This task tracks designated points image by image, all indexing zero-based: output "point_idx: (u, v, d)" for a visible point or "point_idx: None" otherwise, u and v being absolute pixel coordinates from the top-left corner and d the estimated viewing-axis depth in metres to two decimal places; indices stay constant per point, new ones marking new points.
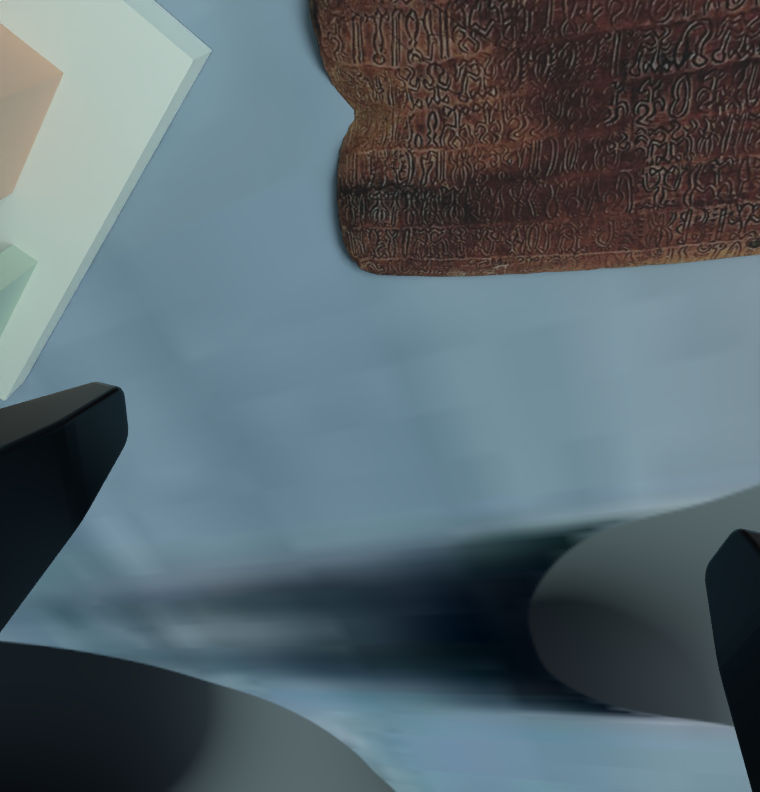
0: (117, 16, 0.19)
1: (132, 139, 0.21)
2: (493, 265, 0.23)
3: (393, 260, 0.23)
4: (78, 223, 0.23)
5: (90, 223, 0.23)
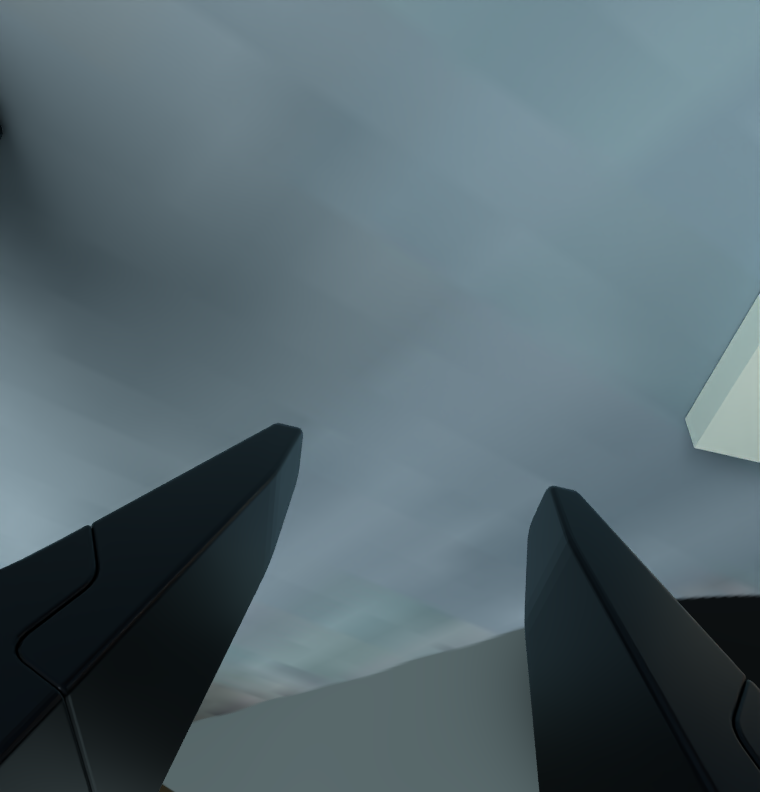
0: None
1: None
2: None
3: None
4: None
5: None
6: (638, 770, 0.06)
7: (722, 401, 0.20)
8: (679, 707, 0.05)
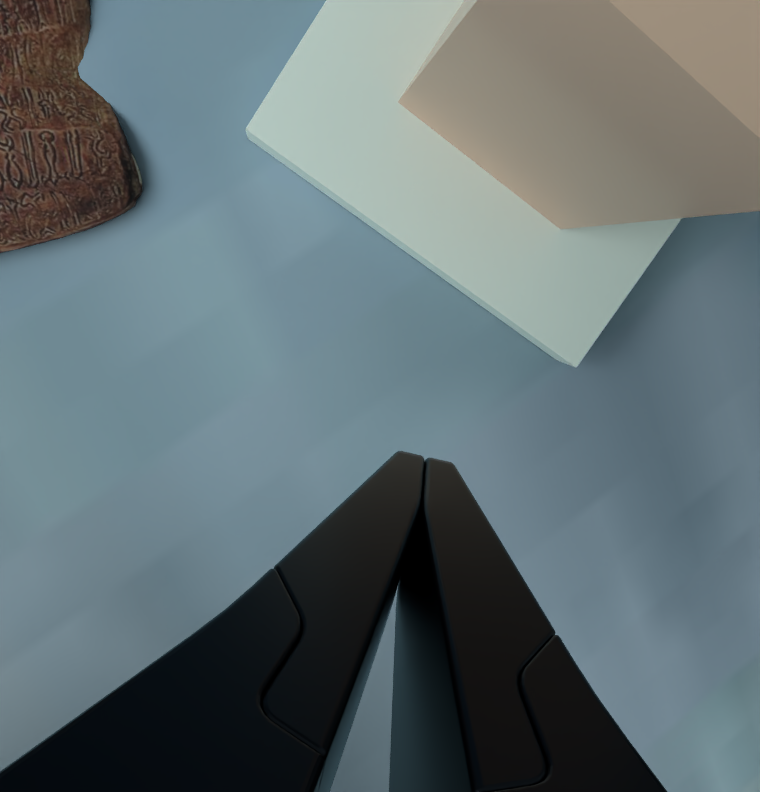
0: (326, 165, 0.18)
1: (328, 30, 0.18)
2: None
3: None
4: None
5: None
6: (434, 721, 0.06)
7: (528, 333, 0.20)
8: (468, 657, 0.05)
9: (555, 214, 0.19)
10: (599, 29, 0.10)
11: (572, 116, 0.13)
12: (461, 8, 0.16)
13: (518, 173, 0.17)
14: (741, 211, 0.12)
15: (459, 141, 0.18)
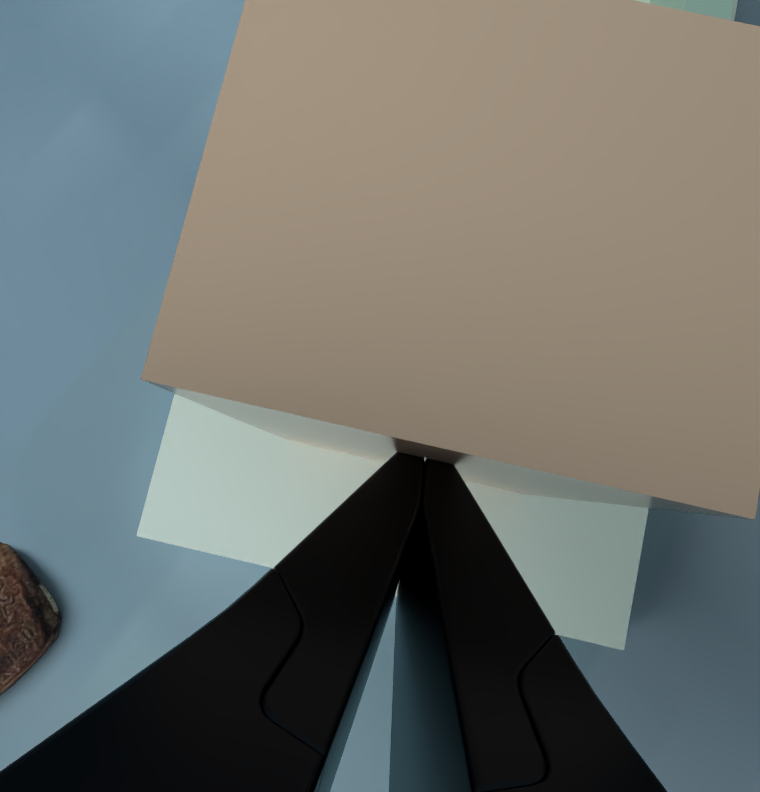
0: (233, 537, 0.16)
1: (189, 404, 0.16)
2: None
3: None
4: None
5: None
6: (435, 721, 0.06)
7: None
8: (468, 657, 0.05)
9: (503, 488, 0.15)
10: (311, 422, 0.07)
11: None
12: None
13: None
14: None
15: (362, 456, 0.16)
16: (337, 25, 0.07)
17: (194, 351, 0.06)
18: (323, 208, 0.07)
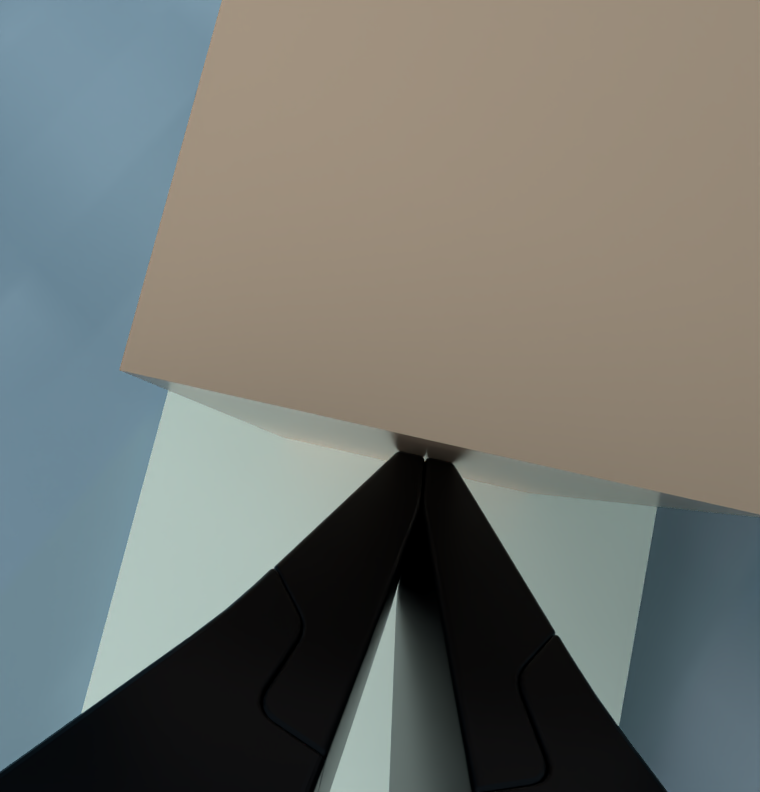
0: None
1: (121, 635, 0.15)
2: None
3: None
4: (177, 467, 0.16)
5: (159, 476, 0.16)
6: (435, 721, 0.06)
7: None
8: (468, 657, 0.05)
9: (507, 487, 0.15)
10: (304, 417, 0.07)
11: None
12: None
13: None
14: (677, 508, 0.08)
15: (360, 454, 0.15)
16: None
17: (177, 339, 0.06)
18: (318, 185, 0.06)
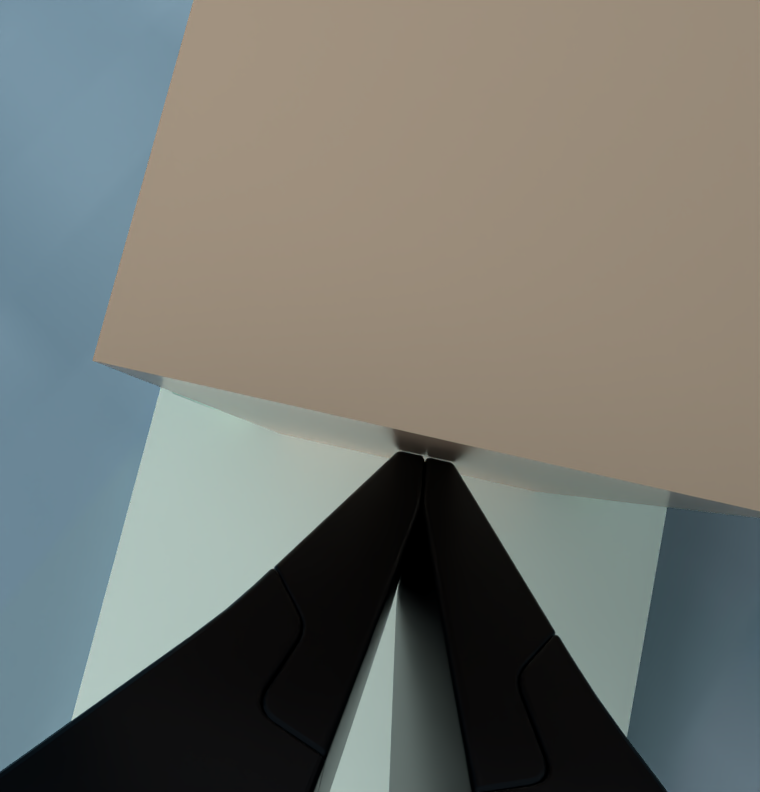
0: None
1: (99, 689, 0.15)
2: None
3: None
4: (158, 512, 0.15)
5: (139, 522, 0.15)
6: (435, 721, 0.06)
7: None
8: (468, 657, 0.05)
9: (511, 485, 0.14)
10: (296, 411, 0.06)
11: (406, 450, 0.09)
12: None
13: None
14: (700, 510, 0.07)
15: (360, 451, 0.15)
16: None
17: (156, 327, 0.05)
18: (311, 158, 0.06)
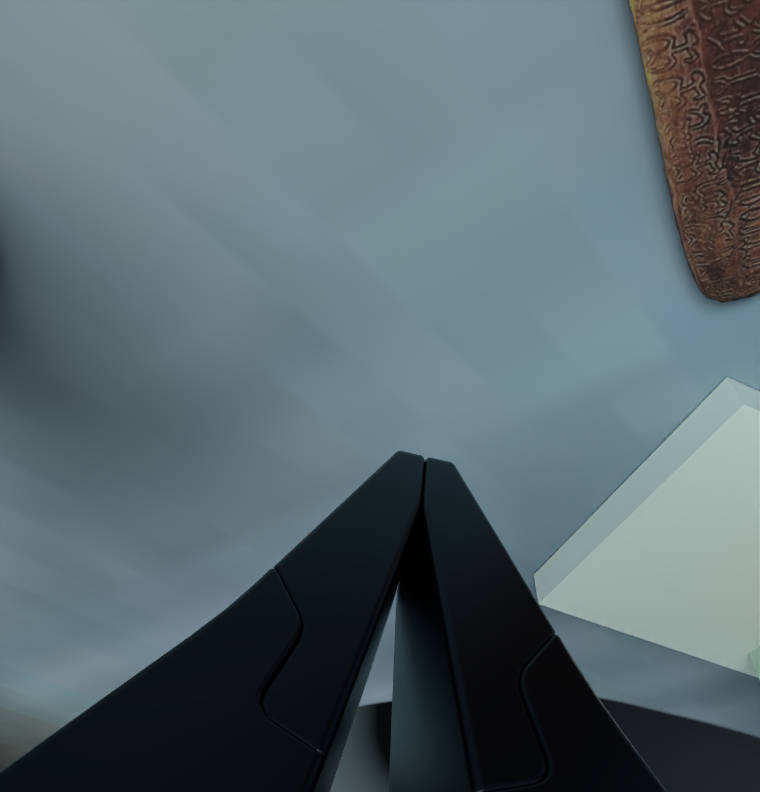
0: (706, 456, 0.23)
1: None
2: None
3: None
4: None
5: None
6: (434, 721, 0.06)
7: (564, 577, 0.27)
8: (468, 657, 0.05)
9: None
10: None
11: None
12: None
13: None
14: None
15: None
16: None
17: None
18: None
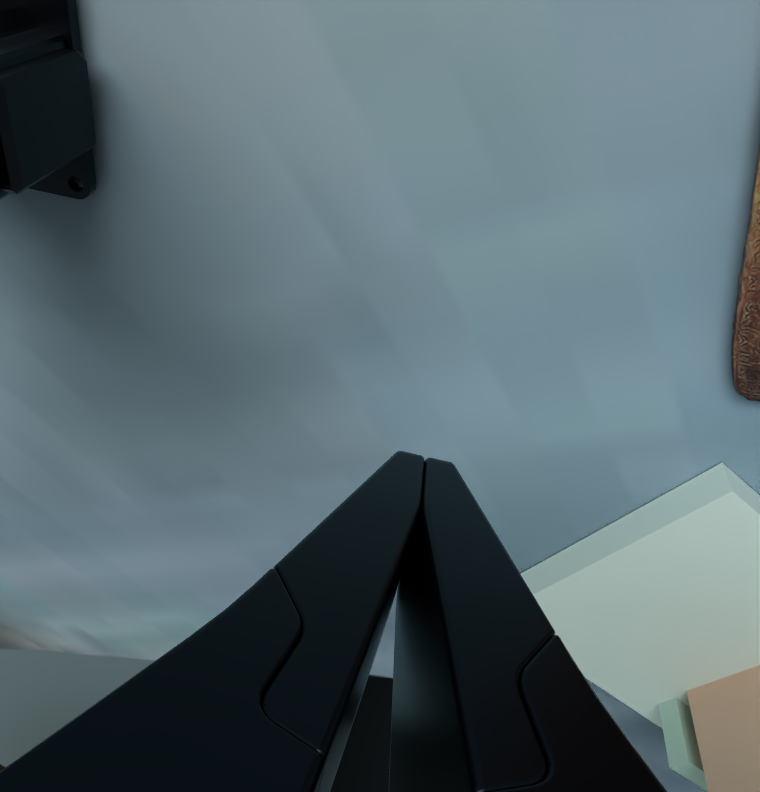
0: (684, 526, 0.25)
1: None
2: None
3: None
4: None
5: None
6: (435, 721, 0.06)
7: None
8: (468, 657, 0.05)
9: (703, 704, 0.30)
10: None
11: None
12: None
13: (743, 711, 0.29)
14: None
15: None
16: None
17: None
18: None
